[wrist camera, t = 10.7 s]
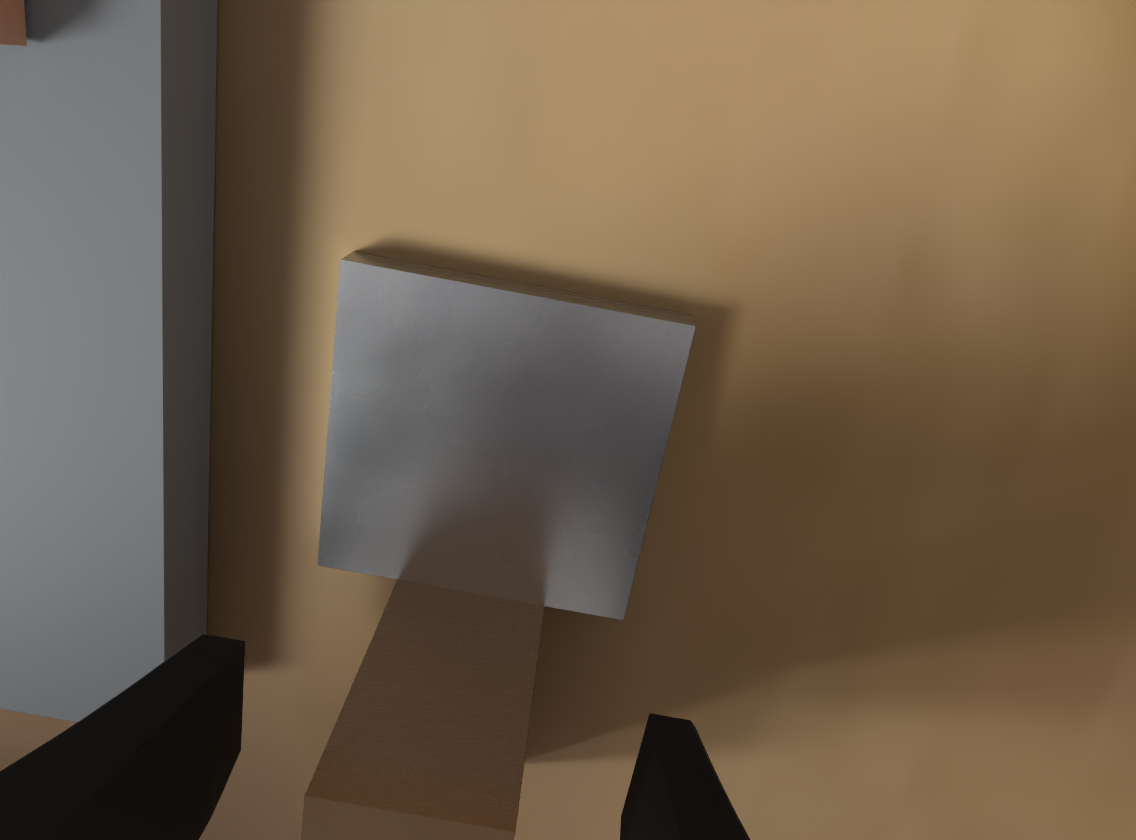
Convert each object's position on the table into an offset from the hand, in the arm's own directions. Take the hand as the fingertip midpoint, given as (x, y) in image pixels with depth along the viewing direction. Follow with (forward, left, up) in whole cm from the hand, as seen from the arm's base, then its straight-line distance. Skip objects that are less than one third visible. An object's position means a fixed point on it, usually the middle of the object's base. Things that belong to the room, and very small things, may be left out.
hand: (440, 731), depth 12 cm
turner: (+1, 0, -2) cm, 3 cm away
